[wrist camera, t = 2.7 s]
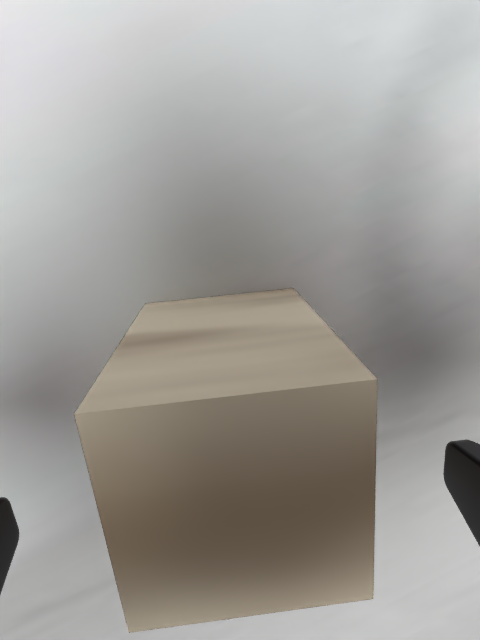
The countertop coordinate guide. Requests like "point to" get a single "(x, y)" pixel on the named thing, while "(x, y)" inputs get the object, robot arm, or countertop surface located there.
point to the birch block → (233, 461)
